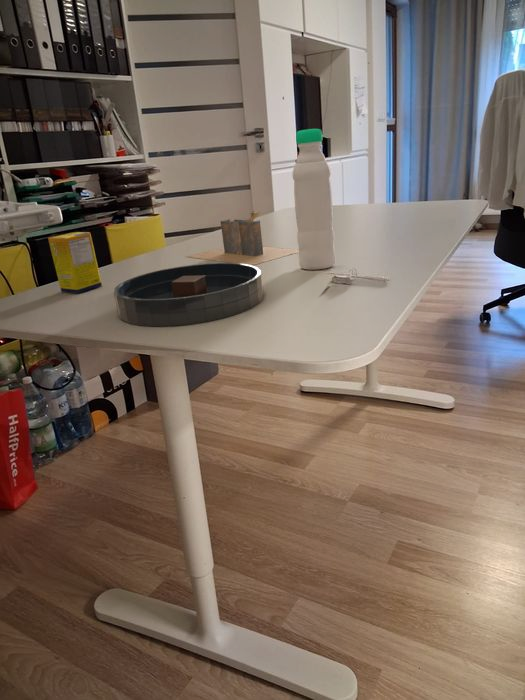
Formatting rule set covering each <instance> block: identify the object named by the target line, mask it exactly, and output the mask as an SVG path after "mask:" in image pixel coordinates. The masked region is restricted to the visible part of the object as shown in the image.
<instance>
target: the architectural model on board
mask: <svg viewBox="0 0 525 700" xmlns="http://www.w3.org/2000/svg"><path fill="white" fill-rule="evenodd" d="M259 215H260V211H257V212H255V210H253V211H252V212H250V218H249V219H233V220H231V219H230V218H229V219H223V220H220V229H221V235H222V244H223V247H224V250H223V249H219V248H215V249H216V250H215V249H211V250H207V251H203V252H199V253H195V254H191V255H187V256H185V257H186V258H192V259H194V258H195V259H201V260H208V261H215V262H221V263H238V264H247V265H252V266H255V265H258V264H263V263H266V262H269V261H272V260H277V259H280V258H284V257H288V256H291V255H294V254H297V253H298V254H299V249H296V248H295V249H294V248H283V247H273V246H272V247H271V246H264V245H263V239H262V227H261V220H255V219H257V217H259Z"/></svg>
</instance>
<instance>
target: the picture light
mask: <svg viewBox="0 0 525 700" xmlns="http://www.w3.org/2000/svg"><path fill="white" fill-rule="evenodd" d="M348 269H350V270H349V271H348V273H346V272H347V270H348ZM353 270H355V271H353ZM350 272H351V273H350ZM323 273H325V274H333V276H332V277H331V280H332V281H333V282H334V283H342V284H347V285H350V284H351V283H353V282H354V280H355V279H359V280H369V281H370V280H371V281H379V282H390V281H391V279H390V278H389V277H386V276H376V275H367V274H366V275H364V274H360V273H359V272H358V270H357V269H356V268H354V267H352V268H351V267H347V268H346V269H345V270H344V272H335V271H334V272H333V271H324V272H323ZM334 274H335V275H334Z"/></svg>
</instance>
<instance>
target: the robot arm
mask: <svg viewBox="0 0 525 700" xmlns="http://www.w3.org/2000/svg"><path fill="white" fill-rule="evenodd" d="M61 223H63V214H62V210H61V208H60V206H58V205H52V204H38V203H37V201H24V202H14V201H5V200H0V242H12V241H15V240H17V239H18V238H21V237H23V236H25V235H27V234H31V233H34V232H37V231H38V232H39V231H41V230H43V229H44V228H45V227H51V226H55V225H59V224H61Z"/></svg>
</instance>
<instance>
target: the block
mask: <svg viewBox="0 0 525 700" xmlns="http://www.w3.org/2000/svg"><path fill="white" fill-rule="evenodd" d="M171 284H172V290H173V296H174V298H180V297H188V296H195V295H202V294H207V287H206V280H205V276H182V277H180V278H178V279H176V280H174V281H172V282H171Z"/></svg>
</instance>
